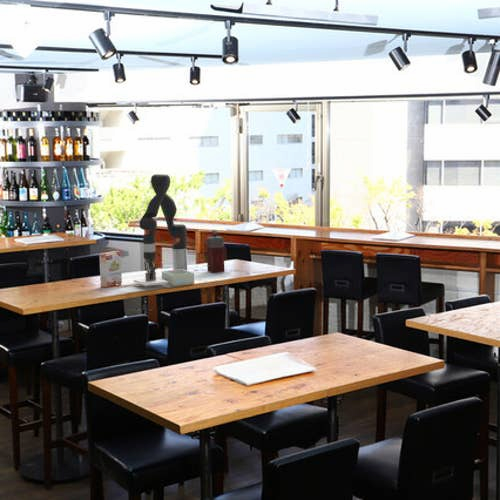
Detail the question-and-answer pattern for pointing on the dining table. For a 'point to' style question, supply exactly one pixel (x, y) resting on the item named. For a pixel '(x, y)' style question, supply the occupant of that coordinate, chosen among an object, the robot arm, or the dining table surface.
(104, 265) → the cracker box
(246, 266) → the dining table surface
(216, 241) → the dark red pepper mill
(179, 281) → the box
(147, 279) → the lid
